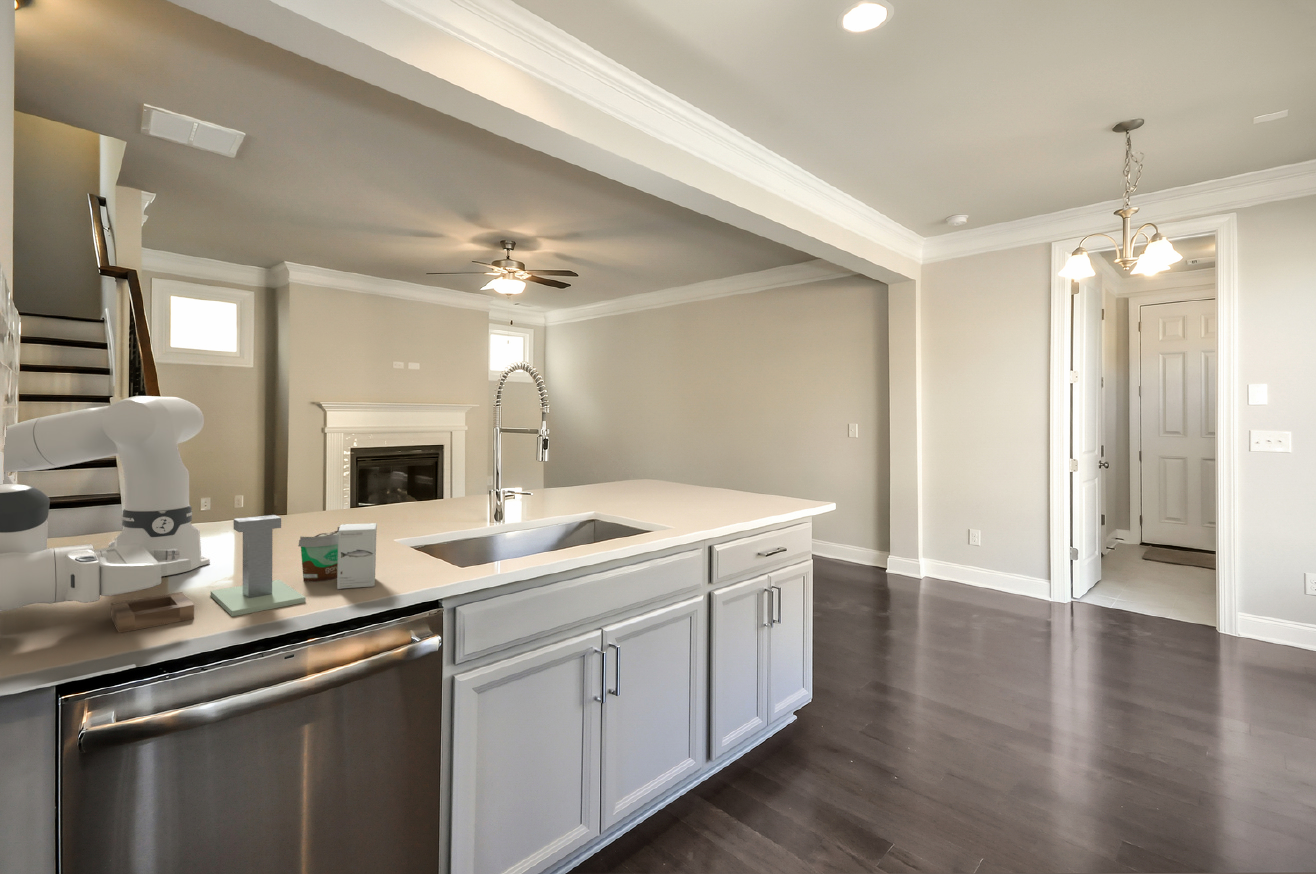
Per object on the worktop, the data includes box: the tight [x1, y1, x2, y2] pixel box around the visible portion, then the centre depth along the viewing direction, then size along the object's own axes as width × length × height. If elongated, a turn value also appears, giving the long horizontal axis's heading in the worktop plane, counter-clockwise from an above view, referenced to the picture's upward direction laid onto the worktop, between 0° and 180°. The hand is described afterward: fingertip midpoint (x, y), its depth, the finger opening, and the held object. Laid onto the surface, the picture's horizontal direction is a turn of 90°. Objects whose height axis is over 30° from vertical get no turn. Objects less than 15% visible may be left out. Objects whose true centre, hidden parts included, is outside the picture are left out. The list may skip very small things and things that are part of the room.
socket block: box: [110, 591, 195, 634], centre depth 107 cm, size 10×10×2 cm
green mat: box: [210, 579, 307, 617], centre depth 119 cm, size 16×12×1 cm
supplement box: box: [336, 522, 378, 590], centre depth 130 cm, size 7×7×13 cm
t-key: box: [233, 514, 282, 599], centre depth 118 cm, size 4×7×15 cm, turn 138°
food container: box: [297, 526, 340, 582], centre depth 135 cm, size 12×6×10 cm, turn 168°
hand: (184, 558), depth 110 cm, fingers open, 8 cm apart
